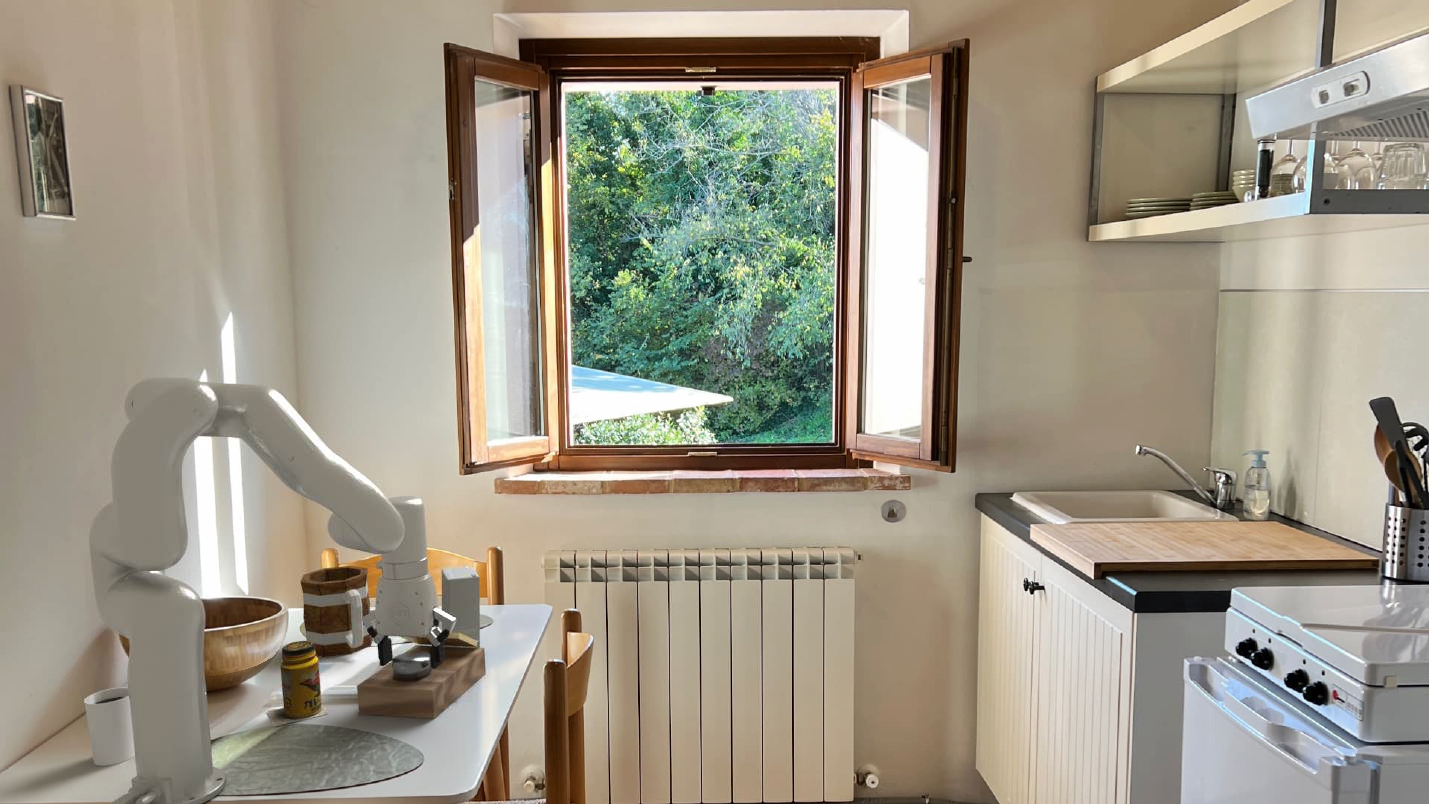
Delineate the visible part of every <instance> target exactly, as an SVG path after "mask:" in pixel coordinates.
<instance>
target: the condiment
mask: <svg viewBox="0 0 1429 804" xmlns="http://www.w3.org/2000/svg"><path fill="white" fill-rule="evenodd" d="M315 655H316V652H315V645H314V643H313V642H311V641H306V640H298V641H293V642H290V643H287V644H285V645H284V646H282V648H281V660H282V661H281V664H280V666H279V667H280V679H281V691H282V693H281V694H282V702H283V707H281V708H274V709H270V710H267V714H268V716H269V718H270V720H271V722H272V724H273V725H274V727H278V726H282V725H286V724H290V723H293V722H300V721H304V720H308V719H309V720H310V719H312V718H317V717H321V716H325V715H327V714H328V713H329V712H328V711H327V709H326V708H325V706H324V705H323V703H322V687H321V678H320V676H321V675H320V668H319V667H320V663H319V658H318V656H315Z"/></svg>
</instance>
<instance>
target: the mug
mask: <svg viewBox="0 0 1429 804" xmlns="http://www.w3.org/2000/svg"><path fill="white" fill-rule="evenodd" d="M368 572H369V569H368V568H367V567H364V566H363V567H361V566H355V565H344V566H335V567H326V568H325V567H324V568H321V569H317V570H315V571H311V572H308V573H305V574H303V575H302V577H301V579H300V581H299V582H300V586H301V591H302V598H303V625H304V628H305V638H306V640H305V641H311V642H313V643H314V645H315V652H316V655H315V656H316V657H319V658H331V657H339V656H347V655H353V654H354V652H355V653H358V652H360V651H362V650H365V649H367V648H370V647H372V644H373V643H372V642H373V639H372V637H371V635H370V634H369V633H368V632H367V628H366V627H365V625H364V623H363V621H362V617H364V616H365V615H367V614H369V613H371V602H370V595H369V587H368ZM352 653H353V654H352Z"/></svg>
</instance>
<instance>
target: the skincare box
mask: <svg viewBox="0 0 1429 804" xmlns="http://www.w3.org/2000/svg"><path fill="white" fill-rule="evenodd" d="M440 570H441V571H440V572H441V611H443V612H445V613H447V614H448V615H450V616H452V617H454V618H455V619H456V624H455V626H454V628H453V630H452V633H461V634H463V635H465V636H468V637H470V638H472V639H474V640H477V641H480V642H481V636H480V635H481V633H480V632H481V631H480V630H481V626H480V625H481V617H480V615H481V613H480V612H481V609H480V608H481V607H480V605H481V603H480V602H481V598H480V595H481V594H480V593H481V592H480V591H481V586H480V584H481V580H480V576H479V574H478V573H477V570H476V569H475V568H474V567H473V566H472V565H466V566H459V567H458V566H457V567H456V566H455V567H445V568H441V569H440ZM444 627H445V624H444V623H442V622H441V631H443V630H444ZM450 647H462V646H450ZM473 648H481V645H480V646H479V647H473Z"/></svg>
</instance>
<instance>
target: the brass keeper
mask: <svg viewBox="0 0 1429 804" xmlns="http://www.w3.org/2000/svg"><path fill="white" fill-rule="evenodd" d="M398 637H399V638H402V639H403V640H407V641H409V642H412V643H414V644H415V645H427V646H432V645H433V644H432V643H431V642H430V640H429V639H428V638H427V637H426V636H424V637H401V636H398ZM443 643H444V646H462V647H479V646H480V647H481V640H480V641H477V640H474V639H472V638H470V637H468V636H465V635H463V634H461V633H451V634H450V635H449V636H448V637H447V639H446V640H445V641H444V642H443Z"/></svg>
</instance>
